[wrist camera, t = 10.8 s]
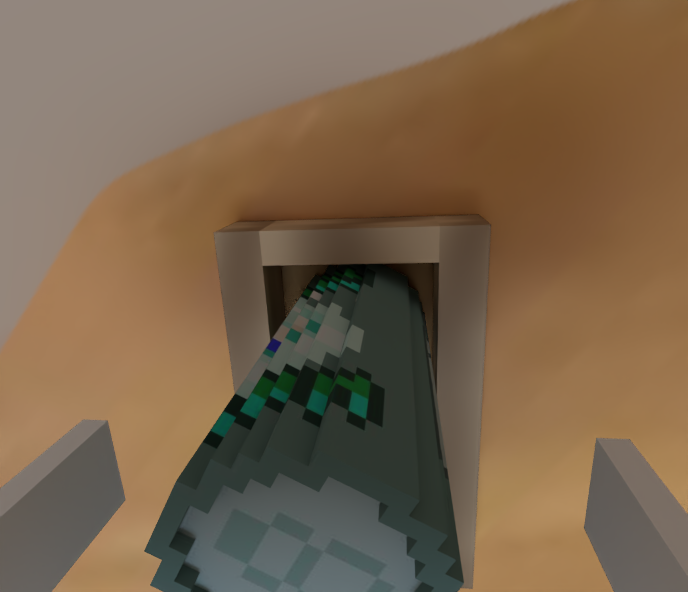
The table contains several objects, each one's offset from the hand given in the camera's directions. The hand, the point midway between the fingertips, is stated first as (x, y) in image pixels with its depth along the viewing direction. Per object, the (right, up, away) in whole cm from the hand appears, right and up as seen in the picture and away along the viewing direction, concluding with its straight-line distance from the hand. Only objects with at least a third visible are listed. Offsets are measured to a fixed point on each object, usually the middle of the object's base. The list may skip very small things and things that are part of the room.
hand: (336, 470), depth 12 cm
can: (+1, +4, +11) cm, 12 cm away
